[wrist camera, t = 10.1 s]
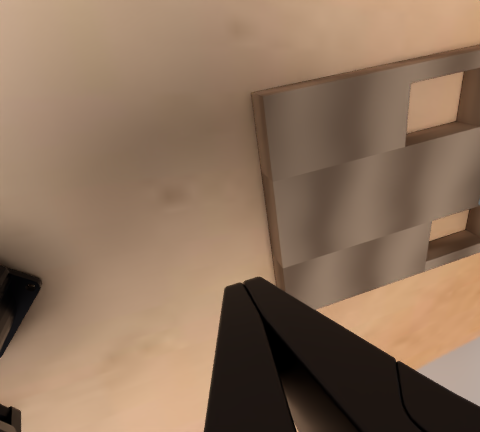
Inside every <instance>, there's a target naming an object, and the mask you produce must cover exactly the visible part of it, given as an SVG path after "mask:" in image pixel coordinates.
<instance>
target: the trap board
mask: <svg viewBox="0 0 480 432" xmlns="http://www.w3.org/2000/svg"><path fill="white" fill-rule="evenodd" d="M463 71H465V72H464V78H463V84H462V91H461V97H460V103H459V109H458V115H457V121H456V122H452V123H448V124H444V125H440V126H436V127H432V128H429V129H425V130H421V131H417V132H413V133H409V134H406V130H407V119H408V108H409V97H410V86H411V83H414V82H419V81H423V80H427V79H432V78H436V77H441V76H445V75H450V74H454V73H458V72H463ZM251 96H252V104H253V112H254V119H255V127H256V134H257V142H258V150H259V157H260V165H261V172H262V180H263V188H264V195H265V203H266V210H267V218H268V226H269V233H270V241H271V248H272V256H273V264H274V271H275V279H276V286H277V287H278V288H280V289H281V290H283V291H285V292H286V293H288V294H290V295H291V296H293V297H295V298H296V299H298V300H300V301H301V302H303V303H305V304H306V305H308V306H309V307H311V308H313V309H314V310H316V309H319V308H322V307H325V306H328V305H331V304H333V303H336V302H339V301H342V300H345V299H348V298H351V297H353V296H356V295H359V294H362V293H365V292H368V291H371V290H373V289H376V288H379V287H382V286H385V285H388V284H391V283H393V282H396V281H399V280H402V279H405V278H408V277H411V276H414V275H416V274H419V273H422V272H425V271H428V270H431V269H434V268H436V267H439V266H442V265H445V264H448V263H451V262H454V261H456V260H459V259H462V258H465V257H468V256H471V255H474V254H476V253H479V252H480V205H479V199H480V45H476V46H471V47H466V48H461V49H457V50H452V51H447V52H442V53H438V54H433V55H428V56H423V57H418V58H414V59H409V60H404V61H399V62H395V63H390V64H385V65H380V66H376V67H371V68H366V69H361V70H357V71H352V72H347V73H342V74H338V75H333V76H328V77H323V78H319V79H314V80H309V81H304V82H299V83H295V84H290V85H285V86H280V87H276V88H271V89H266V90H261V91H257V92H252V93H251ZM468 209H470V212H469V217H468V221H467V226H466V230H464V231H461V232H458V233H455V234H452V235H449V236H446V237H443V238H440V239H437V240H434V241H431V242H429V238H430V231H431V224H432V221H434V220H437V219H440V218H443V217H446V216H449V215H452V214H456V213H459V212H462V211H465V210H468Z"/></svg>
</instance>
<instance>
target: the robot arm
mask: <svg viewBox="0 0 480 432" xmlns="http://www.w3.org/2000/svg"><path fill="white" fill-rule="evenodd" d="M28 284H33V285H35V287H30V286H28ZM41 286H42V282H41V280H40V279H39V278H37V277H34V276H31V275H28V274H25V273H21V272H18V271H15V270H12V269H9V268H6V267H4V266H1V265H0V358H1V357H2V355H3V353H4V352H5V350H6V348H7V346H8V345H9V343H10V341H11V340H12V338H13V336H14V334H15V333H16V331H17V329H18V327H19V326H20V324H21V322H22V320H23V319H24V317H25V315H26V313H27V312H28V310H29V308H30V306H31V305H32V303H33V301H34V299H35V298H36V296H37V294H38V292H39V291H40V288H41ZM294 423H295V425H296V427H297V429H298V431H299V432H480V406H478V405H476V404H474V403H472V402H470V401H468V400H466V399H464V398H463V397H461V396H459V395H457V394H455V393H453V392H452V391H449V390H448V389H446V388H445V387H443V386H441V385H439V384H438V383H436V382H434V381H432V380H430V379H429V378H427V377H425V376H424V375H422V374H420V373H419V372H417V371H415V370H414V369H412V368H410V367H409V366H407V365H405V364H404V363H402V362H400V361H397V362H396V360H395V358H394V357H392V356H390V355H389V354H387V353H385V352H384V351H382V350H380V349H379V348H377V347H375V346H374V345H372V344H370V343H369V342H367V341H366V340H364V339H362V338H361V337H359V336H357V335H356V334H354V333H352V332H351V331H349V330H347V329H346V328H344V327H342V326H341V325H339V324H338V323H336V322H334V321H333V320H331V319H329V318H328V317H326V316H324V315H323V314H321V313H319V312H318V311H316V310H314V309H313V308H311V307H309V306H308V305H306V304H305V303H303V302H301V301H300V300H298V299H296V298H295V297H293V296H291V295H290V294H288V293H286V292H285V291H283V290H281V289H280V288H278V287H276V286H275V285H273V284H272V283H270V282H268V281H267V280H265V279H263V278H262V277H255V278H252V279H249V280H246V281H244V282H243V284H242V283H236V284H233V285H230V286H227V287H225V289H224V295H223V302H222V309H221V316H220V323H219V330H218V337H217V343H216V350H215V357H214V364H213V371H212V378H211V385H210V392H209V399H208V406H207V413H206V420H205V427H204V432H297V431H296V428H295V425H294ZM0 432H21V411H20V410H18V409H16V408H14V407H12V406H10V407H6V406H4V405H2V404H0Z"/></svg>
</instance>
